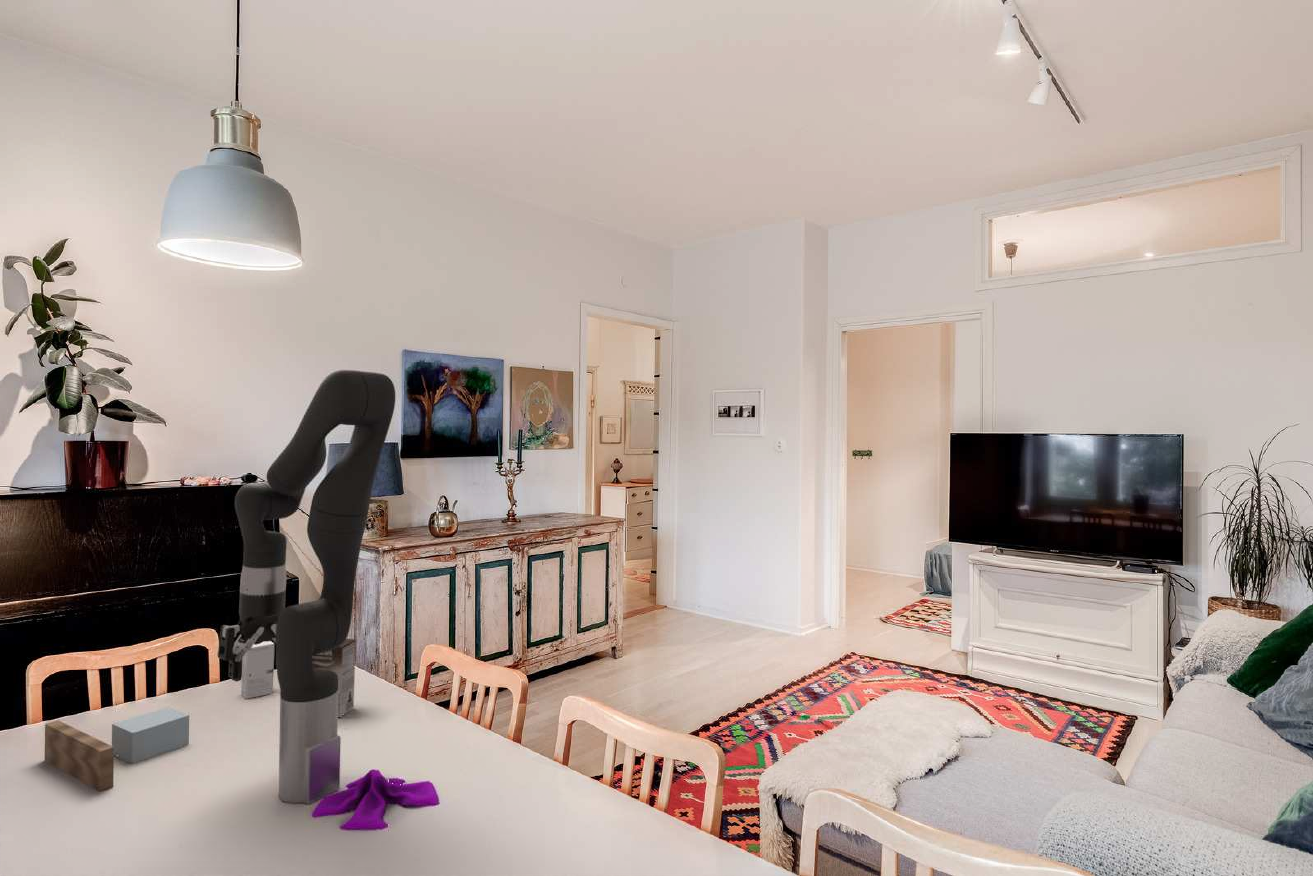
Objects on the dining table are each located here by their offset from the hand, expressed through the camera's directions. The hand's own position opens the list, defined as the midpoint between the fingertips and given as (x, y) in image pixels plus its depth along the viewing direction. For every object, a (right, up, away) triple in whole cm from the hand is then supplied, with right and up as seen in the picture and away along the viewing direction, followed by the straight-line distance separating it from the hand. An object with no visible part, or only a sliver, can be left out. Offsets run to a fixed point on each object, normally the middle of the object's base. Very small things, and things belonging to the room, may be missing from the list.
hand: (259, 673), depth 132 cm
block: (-25, -17, +7) cm, 32 cm away
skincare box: (-21, -17, +37) cm, 46 cm away
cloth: (+26, -19, -10) cm, 34 cm away
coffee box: (+1, -18, +27) cm, 32 cm away
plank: (-31, -17, -3) cm, 36 cm away
